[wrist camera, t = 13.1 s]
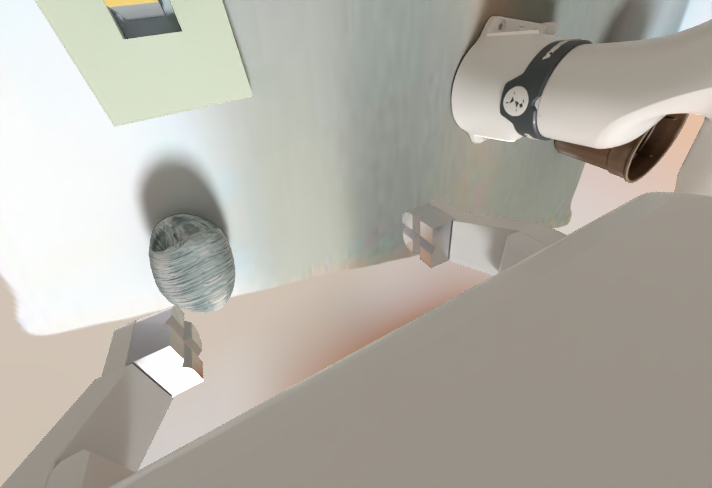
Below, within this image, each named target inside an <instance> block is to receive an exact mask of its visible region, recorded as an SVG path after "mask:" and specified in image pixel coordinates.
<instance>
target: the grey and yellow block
mask: <svg viewBox="0 0 712 488" xmlns="http://www.w3.org/2000/svg"><path fill="white" fill-rule="evenodd" d="M104 2H105V4H106V6H108V7H109V8H111V9H112V10H114V11H115V12H117V13H118V14H120V15H121V16H123V17H124V18H126V19H127V20H130V19H138V18H147V17H155V16H164V15H165V14H164V12H163V9H162V7H161V4H160V2H159V0H104Z"/></svg>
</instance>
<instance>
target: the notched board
mask: <svg viewBox="0 0 712 488" xmlns="http://www.w3.org/2000/svg"><path fill="white" fill-rule="evenodd" d="M35 2H36V3H37V5H38V7H39V8H40V10H41V11H42V13H43V15H44V16H45V18H46V19H47V21H48V22H49V24H50V26H51V27H52V29H53V30H54V32H55V33H56V35H57V37H58V38H59V40H60V41H61V43H62V45H63V46H64V48H65V49H66V51H67V52H68V54H69V56H70V57H71V59H72V60H73V62H74V63H75V65H76V67H77V68H78V70H79V71H80V73H81V75H82V76H83V78H84V79H85V81H86V82H87V84H88V86H89V87H90V89H91V90H92V92H93V94H94V95H95V97H96V98H97V100H98V101H99V103H100V105H101V106H102V108H103V109H104V111H105V112H106V114H107V116H108V117H109V119H110V120H111V122H112V124H113V125H114V127H115V126H119V125H124V124H129V123H133V122H138V121H142V120H147V119H152V118H156V117H161V116H165V115H170V114H175V113H179V112H184V111H189V110H193V109H198V108H202V107H207V106H212V105H216V104H221V103H225V102H230V101H235V100H239V99H244V98H248V97H253V95H252V91H251V88H250V85H249V82H248V79H247V76H246V73H245V70H244V66H243V63H242V60H241V57H240V54H239V51H238V48H237V45H236V42H235V38H234V35H233V32H232V29H231V26H230V23H229V20H228V17H227V14H226V10H225V7H224V4H223V1H222V0H170V3H171V5H172V8H173V10H174V13H175V15H176V17H177V20H178V22H179V25H180V27H181V30H182V31H181V32H174V33H166V34H159V35H152V36H144V37H137V38H130V39H125V37H124V35H123V33H122V31H121V29H120V27H119V25H118V23H117V21H116V19H115V17H114V15H113V13H112V12H111V10H110V8H109V7H108V6H106V4H105V2H104V0H35Z"/></svg>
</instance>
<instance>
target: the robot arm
mask: <svg viewBox="0 0 712 488" xmlns="http://www.w3.org/2000/svg"><path fill="white" fill-rule="evenodd" d="M558 25H559V24H558V22H546V23H542V24H541V23H535V22H529V21H524V20H518V19H512V18H507V17H501V16H492V17H490V18H489V20H488V21H487V23H486V25H485V27H484V29H483V31H482V33H481V35H480V37H479V39H478V40H477V41H476V43H475V44H474V45H473V46H472V47H471V49H470V50H469V51H468V52H467V54H466V55H465V57H464V59H463V60H462V62H461V64H460V66H459V68H458V71H457V74H456V77H455V80H454V84H453V89H452V99H451V102H452V112H453V116H454V118H455V121H456V122H457V124H458V125H459V126H460V127H461V128H462V129H463V130H465V131H467V132H468V133H469V136H470V138H471V140H472V141H473V142H474V143H481V142H483V141H485V140H486V139H488V138H490V139H496V140H502V141H508V142H514V141H515V140H517V139H519V138H521V137H522V136H525V137H528V138H531V139H535V140H551V139H555V140H560V141H564V142H569V143H573V144H578V145H583V146H587V147H592V148H596V149H607V148H613V147H617V146H621V145H624V144H626V143H629V142H631V141H633V140H635V139H636V138H638V137H639V136H641V135H642V134H644V133H645V132H646V131H648V130H649V129H650V128H652V127H653V126H654V125H655V124H657V123H658V122H659V121H660V120H661V119H662V118H663V117H665V116H666V115H668V114H679V113H689V114H699V115H702V116H705V119H704V123H703V125H702V127H701V129H700V131H699V133H698V135H697V137H696V138H695V140H694V142H693V145H692V146H691V148H690V150H689V152H688V154H687V156H686V159H685V160H684V162H683V164H682V167H681V168H680V170H679V172H678V175H677V180H676V186H675V190H674V193H672V192H671V193H670V192H650V193H646V194H643V195H640V196H638V197H636V198H634V199H632V200H630V201H629V202H627V203H625V204H623V205H621V206H620V207H618V208H616V209H614V210H612V211H611V212H609V213H607V214H605V215H603V216H602V217H600V218H598V219H596V220H594V221H592V222H591V223H589V224H587V225H585V226H583V227H582V228H580V229H578V230H576V231H574V232H573V233H571V234H569V235H565V234H563V233H561V232H559V231H557V230H555V229H552V228H550V227H548V226H546V225H544V224H542V223H540V222H537V221H531V220H523V219H515V218H506V217H498V216H490V215H481V214H473V213H469V214H465V213H463V212H462V211H460V210H458V209H456V208H454V207H452V206H451V205H449V204H447V203H445V202H443V201H442V200H440V199H434V200H432V201H430V202H427V203H425V204H424V205H421V206H419V207H417V208H414V209H412V210H409V211H407V212H404V213H403V216H402V222H403V223H404V224H405V225H406V226H405V228H404V230H403V239H404V242H405V244H406V246H407V247H408V249H409V250H410V251H411V252H413V253H416V254H420V259H421V260H422V261H423V262H424V263H425V264H427V265H428V266H429V267H430V268H432V267H435V266H437V265H439V264H441V263H443V262H446V261H448V260H449V261H451V262H454V263H457V264H460V265H463V266H466V267H469V268H472V269H475V270H478V271H481V272H485V273H487V274H490V275H493V276H492V277H491V278H489V279H487V280H485V281H483V282H481V283H480V284H478V285H476V286H474V287H472V288H471V289H469V290H467V291H465V292H463V293H461V294H459V295H458V296H456V297H454V298H452V299H450V300H449V301H447V302H445V303H443V304H441V305H439V306H438V307H436V308H434V309H432V310H430V311H429V312H427V313H425V314H423V315H421V316H419V317H418V318H416V319H414V320H412V321H410V322H408V323H407V324H405V325H403V326H402V327H399V328H398V329H396V330H394V331H392V332H390V333H388V334H387V335H385V336H383V337H381V338H380V339H378V340H376V341H374V342H372V343H370V344H368V345H367V346H365V347H363V348H361V349H360V350H357V351H356V352H354V353H352V354H350V355H348V356H347V357H345V358H343V359H341V360H339V361H338V362H336V363H334V364H332V365H330V366H328V367H327V368H325V369H323V370H321V371H319V372H317V373H316V374H314V375H312V376H310V377H308V378H306V379H305V380H303V381H301V382H299V383H297V384H296V385H294V386H292V387H290V388H288V389H286V390H285V391H283V392H281V393H279V394H277V395H276V396H274V397H272V398H270V399H268V400H266V401H265V402H263V403H261V404H259V405H257V406H256V407H254V408H252V409H250V410H248V411H246V412H245V413H243V414H241V415H239V416H237V417H235V418H234V419H232V420H230V421H228V422H226V423H225V424H223V425H221V426H219V427H217V428H215V429H214V430H212V431H210V432H208V433H206V434H205V435H203V436H201V437H199V438H197V439H195V440H194V441H192V442H190V443H188V444H186V445H185V446H183V447H181V448H179V449H177V450H175V451H174V452H172V453H170V454H168V455H166V456H164V457H163V458H161V459H159V460H157V461H156V462H154V463H152V464H150V465H148V466H146V467H144V468H143V469H141V470H139V471H137V470H138V469H139V467H140V464H141V462H142V460H143V458H144V456H145V454H146V452H147V450H148V448H149V446H150V444H151V442H152V440H153V438H154V436H155V434H156V432H157V430H158V428H159V426H160V424H161V422H162V420H163V418H164V416H165V414H166V412H167V409H168V408H169V406H170V403H171V401H172V399H173V398H172V397H173V396H175V395H177V394H179V393H180V392H183V391H184V390H186V389H188V388H190V387H192V386H194V385H196V384H198V383H200V382H202V381H203V363H202V361H201V360H200V358H199V357H198V356H199V354H200V352H201V350H202V345H201V340H200V337H199V334H198V332H197V330H196V328H195V327H194V325H193V324H192V323H191V322H187V321H184V313H183V312H182V311H181V310H180V308H179V307H178V306H172V307H169V308H167V309H164V310H162V311H159V312H156V313H154V314H151V315H149V316H146V317H144V318H141V319H138V320H137V321H133V322H131V323H128V324H126V325H123V326H121V327H118V328H117V329H116V330H115V331H114V333H113V337H112V341H111V344H110V348H109V352H108V356H107V359H106V363H105V366H104V370H103V373H102V377H100V378H98V379H95V380H94V381H93V383H92V384H91V385H90V386H89V387H88V388H87V389H86V391H85V392H84V393H83V394H82V395H81V396H80V397H79V398H78V400H77V401H76V402H75V403H74V404H73V405H72V406H71V408H70V409H69V410H68V411H67V412H66V413H65V414H64V416H63V417H62V418H61V419H60V420H59V421H58V422H57V424H56V425H55V426H54V427H53V428H52V429H51V431H49V433H48V434H47V435H46V436H45V437H44V438H43V439H42V441H41V442H40V443H39V444H38V445H37V446H36V448H35V449H34V450H33V451H32V452H31V453H30V454H29V455H28V457H27V458H26V459H25V460H24V461H23V462H22V463H21V465H20V466H19V467H18V468H17V469H16V470H15V471H14V473H13V474H12V475H11V476H10V477H9V478H8V479H7V481H6V482H5V483H4V484H3V485H2V486H1V487H0V488H712V19H711V20H709V21H707V22H705V23H702V24H700V25H697V26H695V27H692V28H690V29H687V30H684V31H681V32H678V33H675V34H671V35H667V36H662V37H657V38H650V39H642V40H635V41H625V42H613V43H597V44H593V43H592V42H590V41H587V40H581V39H568V38H564V37H559V36H555V34H556V31H557V28H558Z"/></svg>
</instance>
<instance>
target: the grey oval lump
mask: <svg viewBox="0 0 712 488" xmlns="http://www.w3.org/2000/svg"><path fill="white" fill-rule="evenodd" d="M149 257H150V265H151V269H152V273H153V276H154V279H155V282H156V285H157V287H158V288H159V290H160V292H161V293H162V294H163V295H164V296H165V297H166V298H167V299H168V300H169V301H170V302H171V303H172V304H174V305H176V306H178V307H180V308H182V309H185V310H188V311H192V312H212V311H216V310H218V309H220V308H221V307H223V306H224V305H225V303H226V302H227V301H228V299H229V298H230V296H231V293H232V290H233V287H234V282H235V265H234V258H233V255H232V251H231V248H230V245H229V243H228V241H227V238H226V236H225V235H224V233H223V232H222V231H221V230H220V228H219V227H217V226H216V225H215V224H213V223H212V222H210V221H208V220H206V219H204V218H201V217H197V216H193V215H188V214H177V215H173V216H169V217H167V218H165V219H163V220H162V221H160V222H159V223H158V224H157V225H156V227H155V228H154V229H153V232H152V235H151V239H150V247H149Z"/></svg>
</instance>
